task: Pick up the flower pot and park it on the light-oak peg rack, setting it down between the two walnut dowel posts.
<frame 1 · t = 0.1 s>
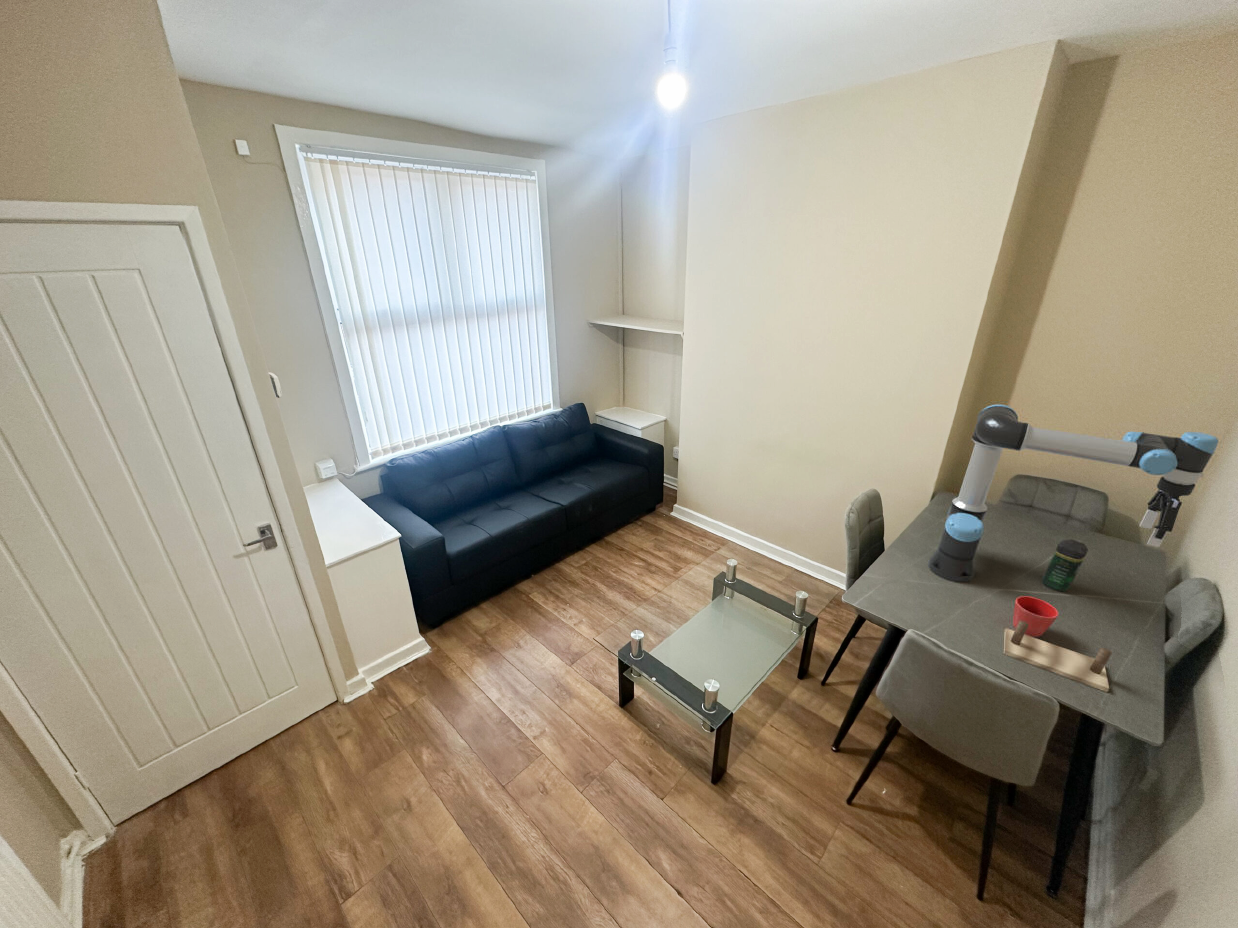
hand: (1148, 536, 159), 28 cm above the table, fingers open, 13 cm apart
rack: (1051, 659, 147), on the table
coffee jar: (1055, 584, 179), on the table
flower pot: (1026, 629, 159), on the table
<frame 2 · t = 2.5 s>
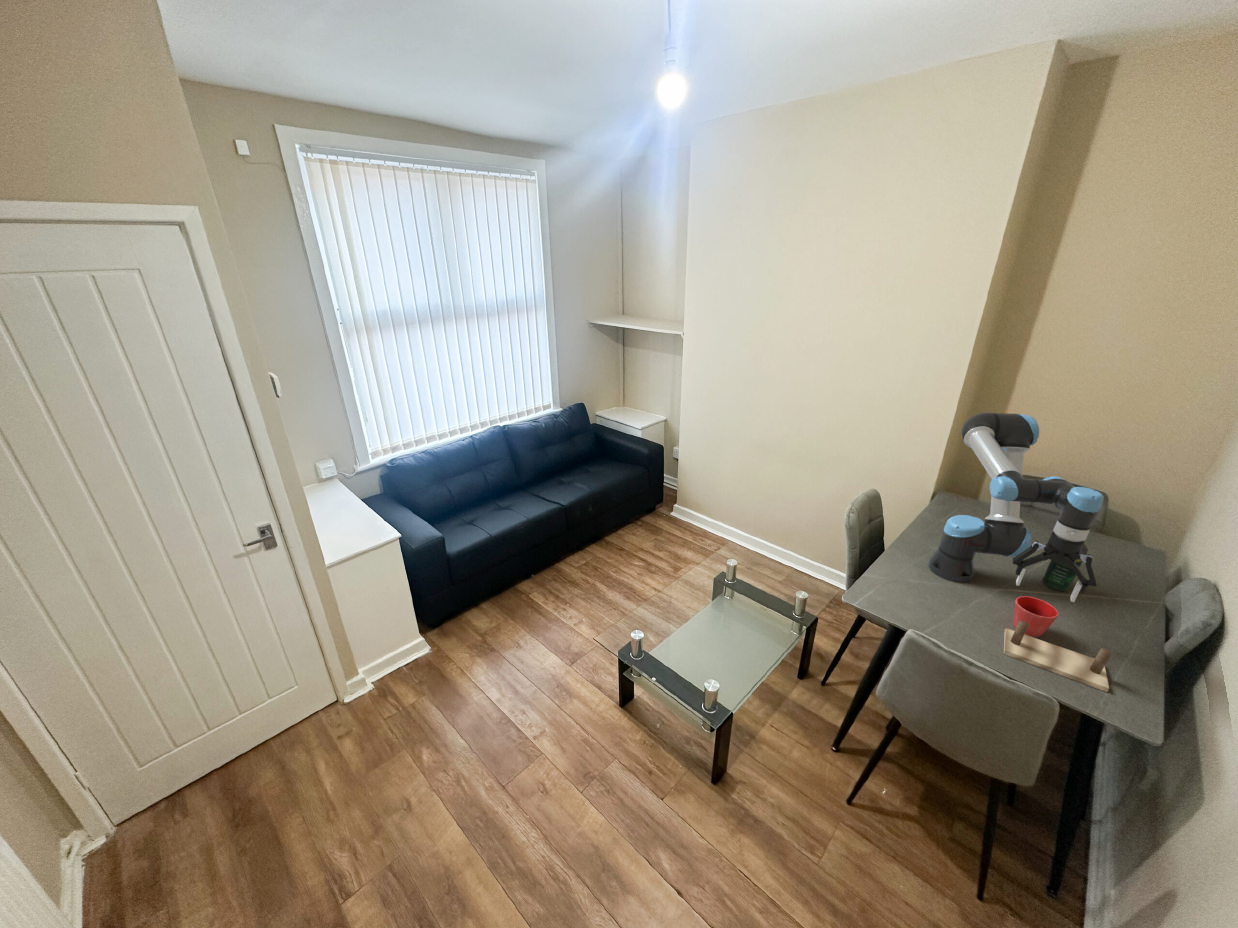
hand: (1044, 591, 152), 16 cm above the table, fingers open, 13 cm apart
nothing on the table moved.
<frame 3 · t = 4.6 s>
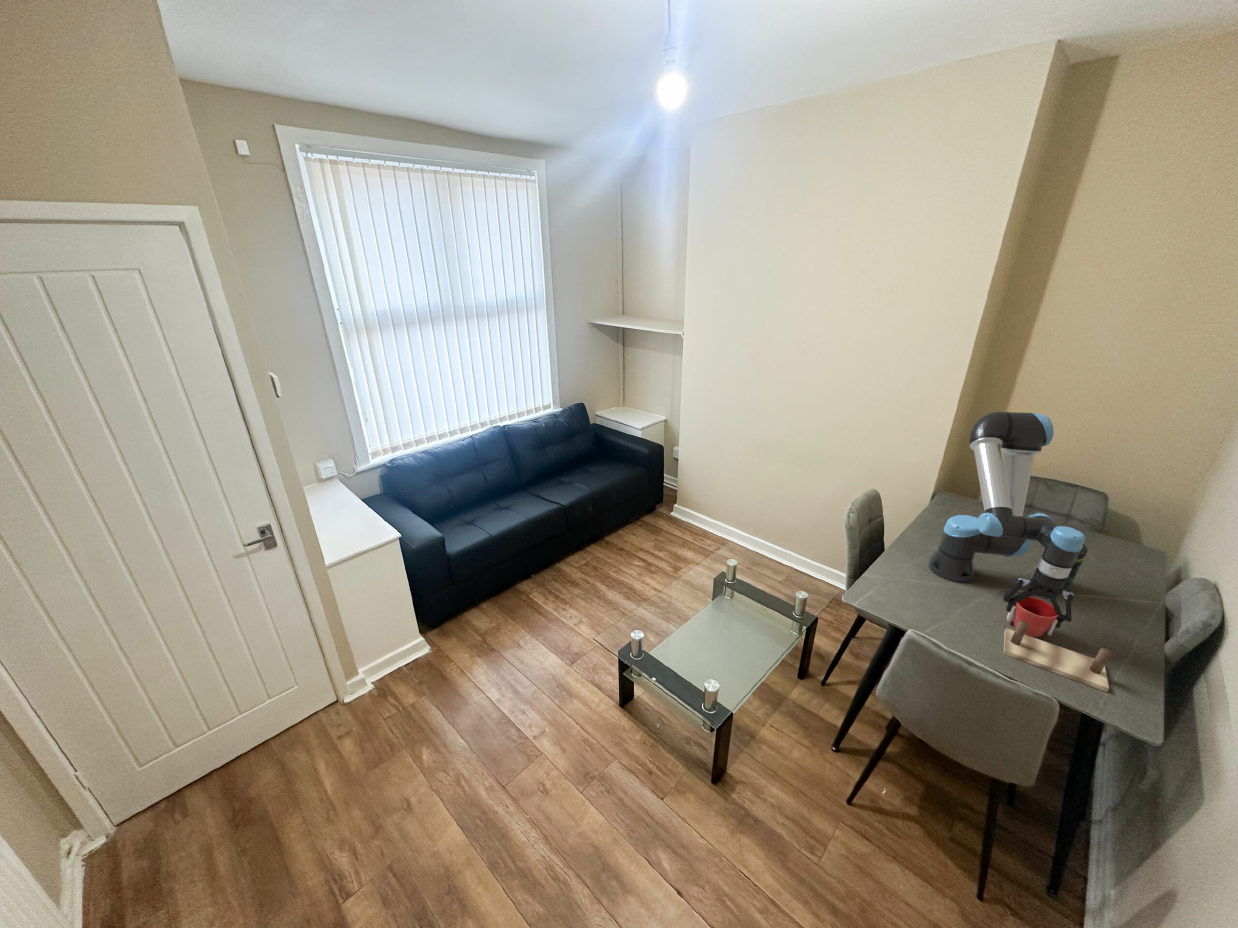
hand: (1028, 625, 159), 1 cm above the table, fingers closed on flower pot, 10 cm apart
flower pot: (1027, 628, 159), on the table, touching gripper
everything else where it was.
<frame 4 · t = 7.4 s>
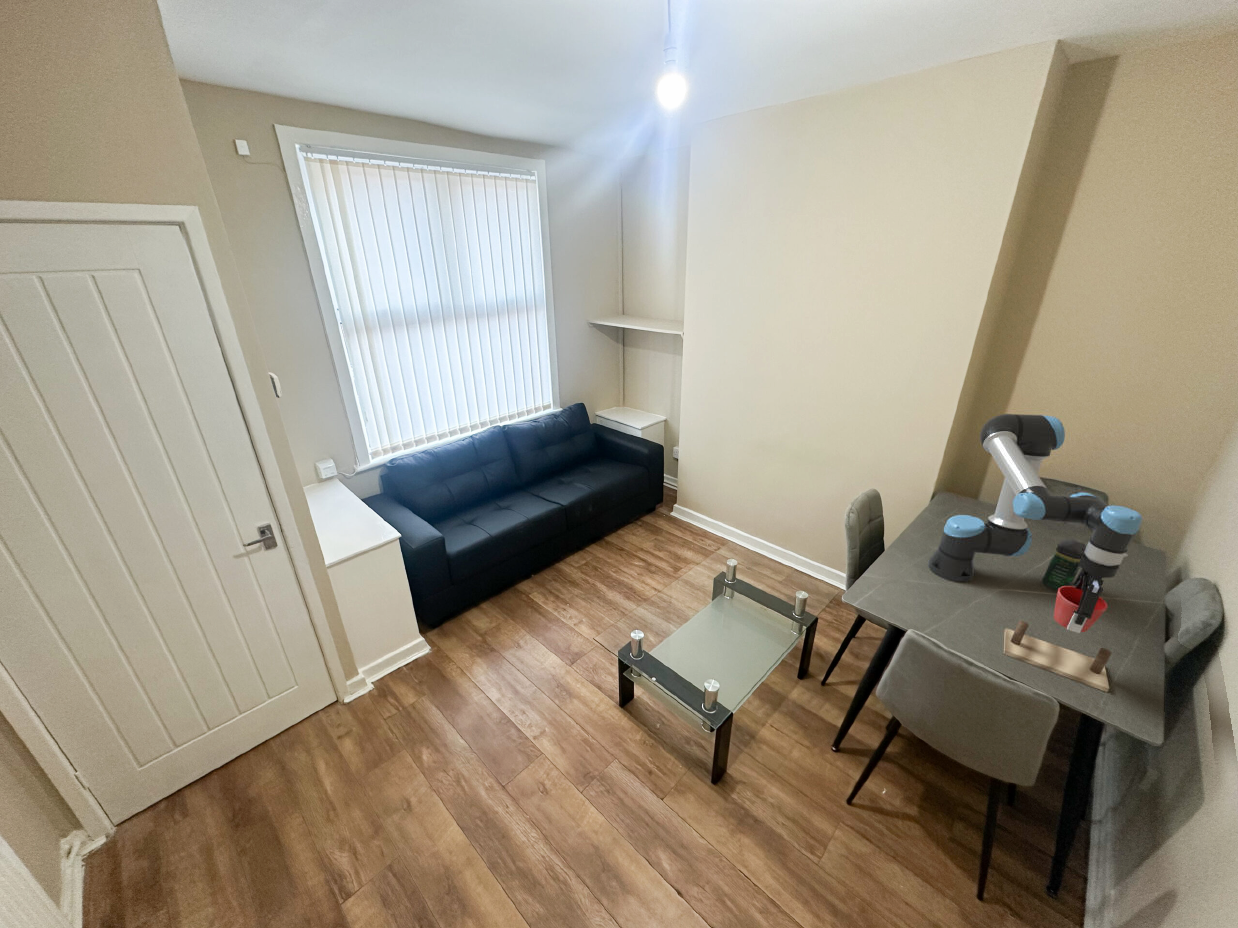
hand: (1071, 620, 141), 16 cm above the table, fingers closed on flower pot, 10 cm apart
flower pot: (1069, 623, 141), point 15 cm above the table, touching gripper
everything else where it was.
when the fingers open (3 cm above the table, at t = 10.4 s): flower pot moves 2 cm, resting on rack.
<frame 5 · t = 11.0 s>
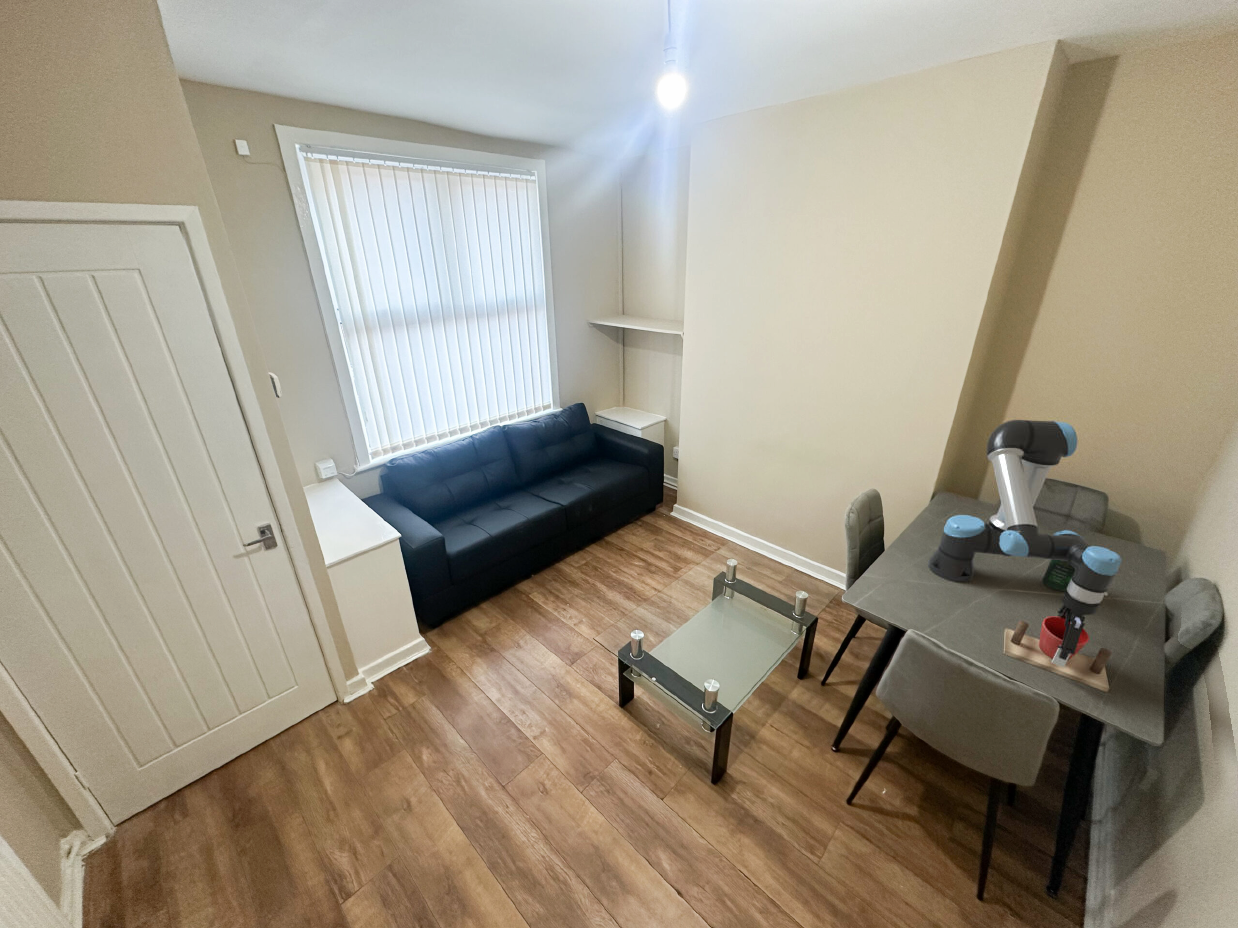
hand: (1056, 650, 146), 4 cm above the table, fingers open, 13 cm apart
flower pot: (1053, 651, 148), point 2 cm above the table, touching gripper, rack
everything else where it was.
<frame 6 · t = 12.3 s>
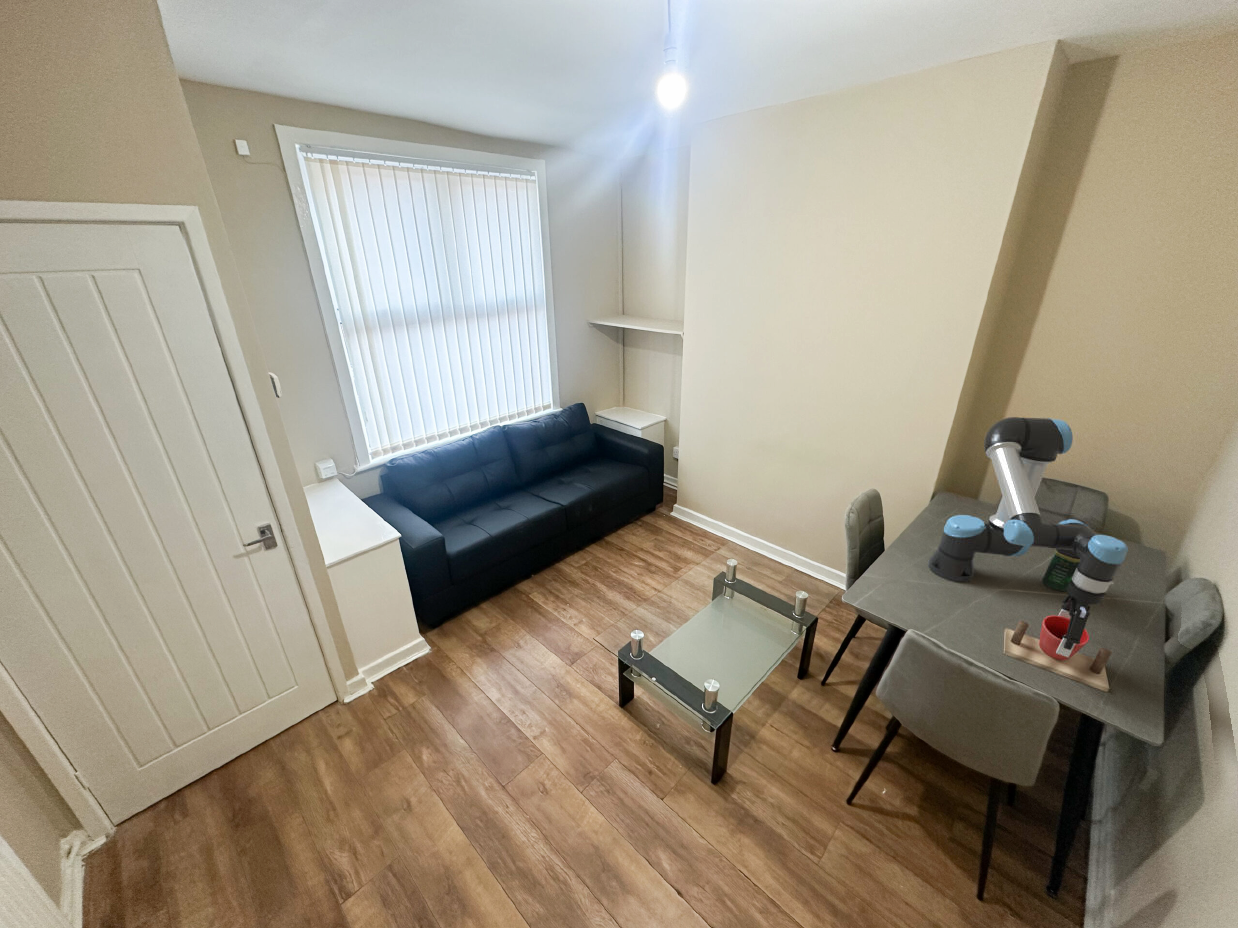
hand: (1060, 640, 144), 8 cm above the table, fingers open, 13 cm apart
flower pot: (1053, 649, 148), point 2 cm above the table, touching rack
everything else where it was.
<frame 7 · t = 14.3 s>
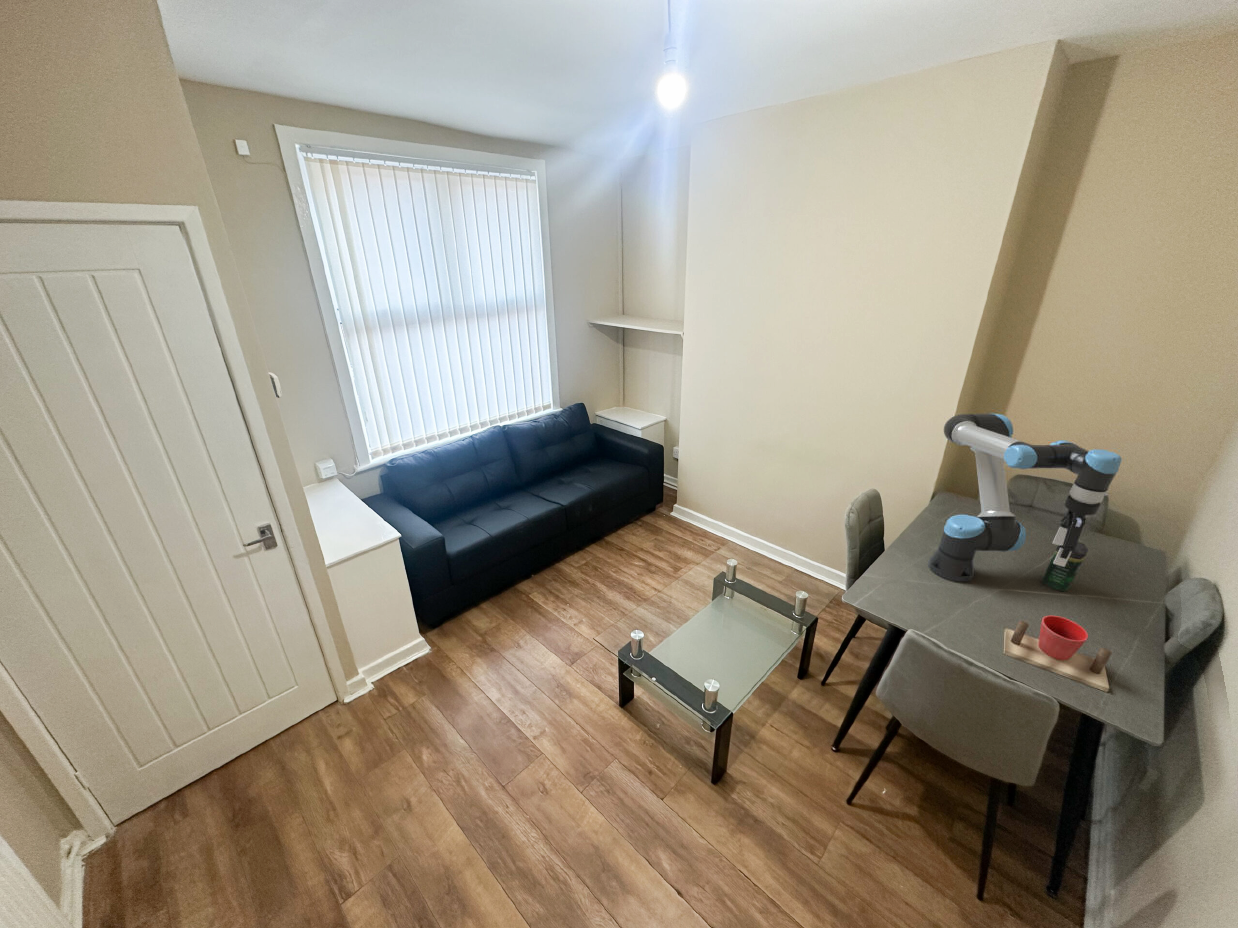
hand: (1058, 554, 154), 26 cm above the table, fingers open, 13 cm apart
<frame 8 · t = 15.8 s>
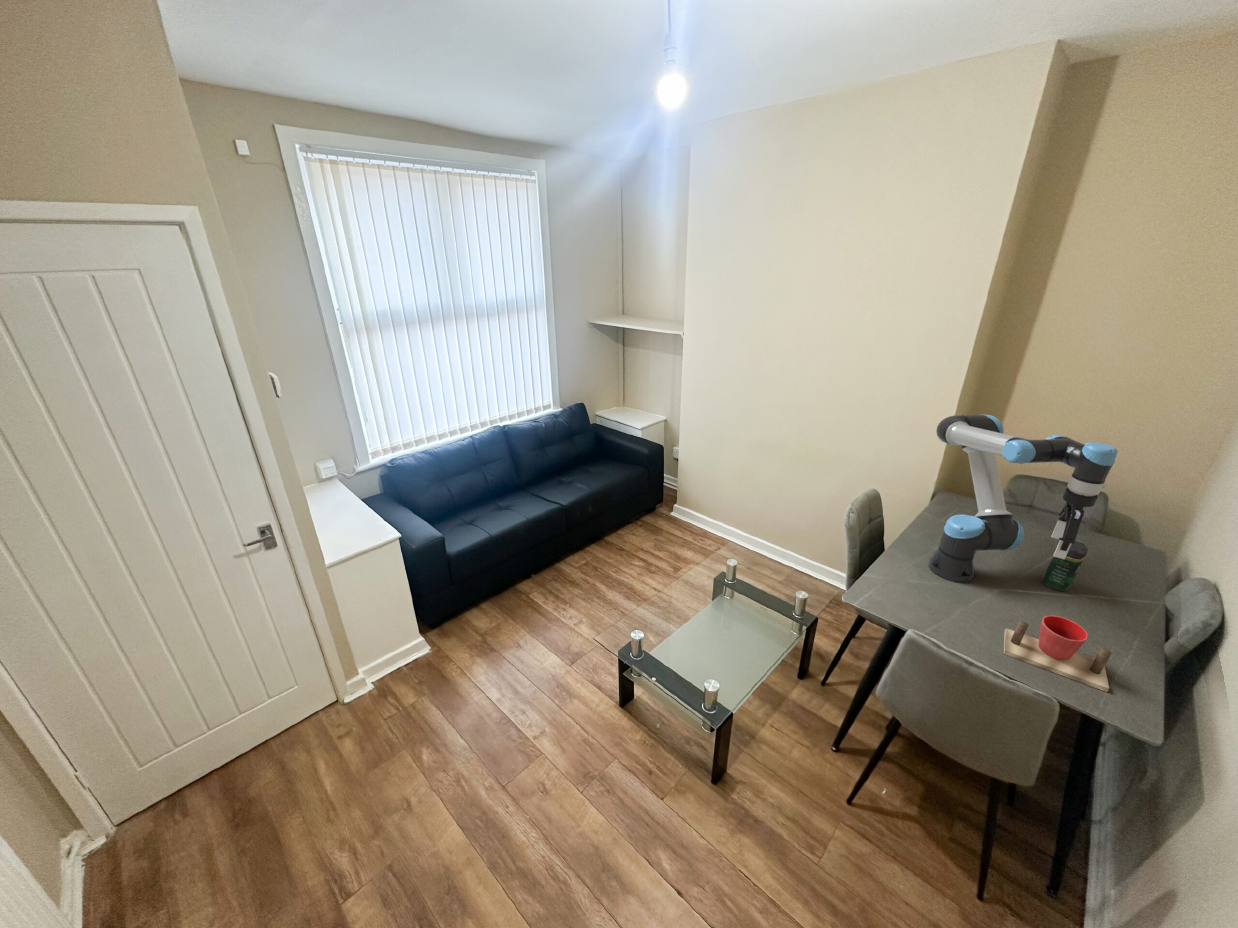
hand: (1057, 547, 156), 27 cm above the table, fingers open, 13 cm apart
nothing on the table moved.
at the end: flower pot inside the target area on the rack (2.6 cm from its centre), point 1.3 cm above the rack's base; flower pot tilted 0°; the gripper is holding nothing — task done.
